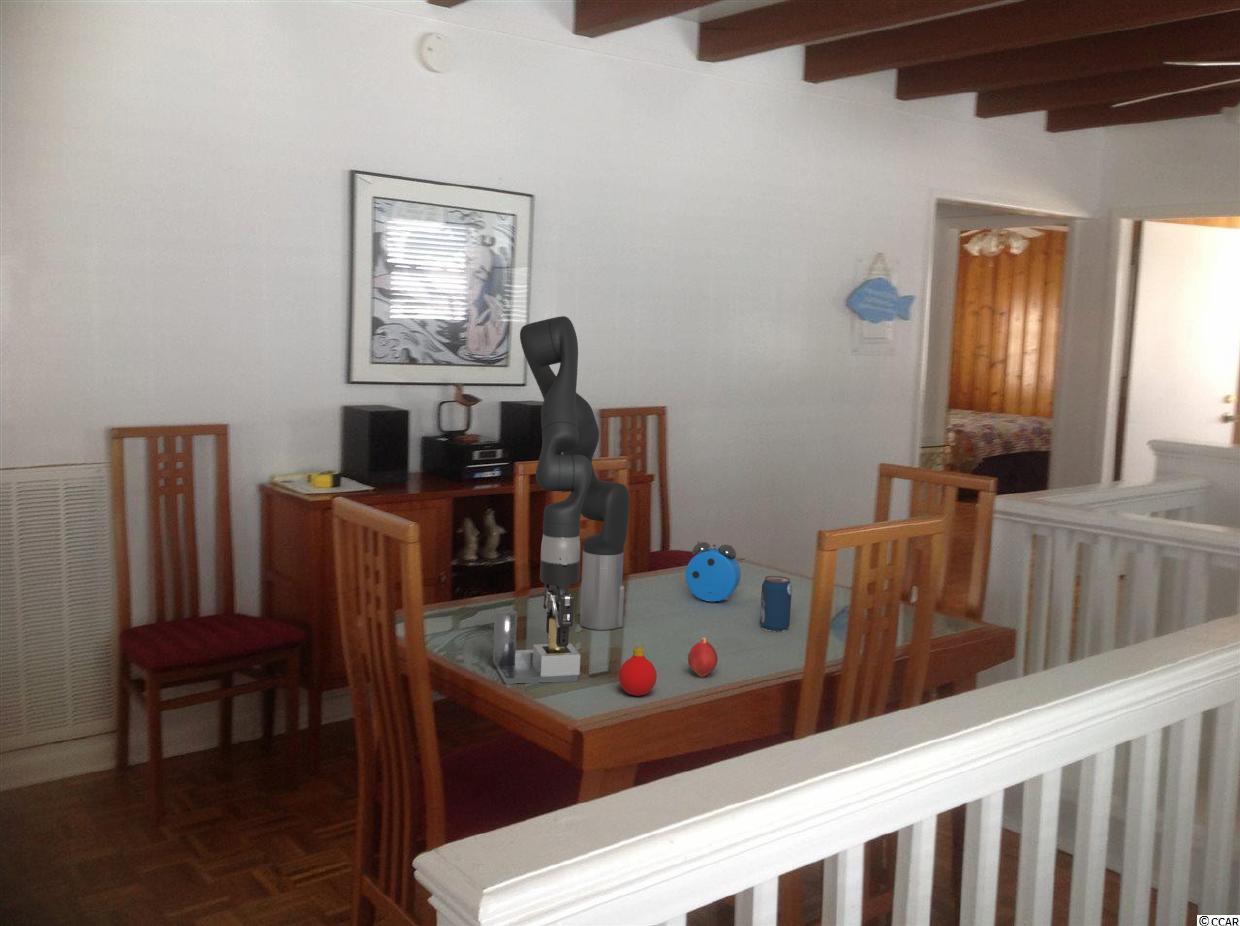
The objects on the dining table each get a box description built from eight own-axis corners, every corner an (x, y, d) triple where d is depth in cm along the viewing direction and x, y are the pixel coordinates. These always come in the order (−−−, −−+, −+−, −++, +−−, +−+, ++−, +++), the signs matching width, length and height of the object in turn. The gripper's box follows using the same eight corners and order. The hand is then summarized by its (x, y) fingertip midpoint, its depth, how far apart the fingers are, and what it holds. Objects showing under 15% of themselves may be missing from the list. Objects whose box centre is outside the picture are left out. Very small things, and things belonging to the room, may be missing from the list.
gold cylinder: (545, 667, 210) (547, 617, 209) (561, 666, 211) (563, 616, 210) (549, 672, 207) (551, 621, 206) (565, 671, 208) (567, 621, 207)
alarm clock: (739, 601, 276) (742, 543, 274) (733, 606, 270) (737, 547, 269) (690, 594, 280) (693, 538, 279) (683, 600, 275) (686, 542, 273)
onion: (685, 671, 216) (687, 633, 215) (713, 672, 216) (715, 633, 215) (689, 681, 210) (691, 641, 209) (718, 681, 211) (720, 642, 210)
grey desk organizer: (564, 661, 218) (566, 607, 217) (579, 681, 207) (582, 624, 206) (490, 665, 214) (492, 610, 213) (502, 684, 203) (504, 626, 201)
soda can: (795, 629, 251) (798, 579, 250) (777, 634, 246) (781, 583, 245) (770, 623, 256) (773, 573, 255) (753, 628, 251) (756, 577, 250)
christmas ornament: (651, 688, 205) (654, 637, 204) (659, 700, 198) (661, 647, 197) (615, 688, 204) (617, 637, 203) (621, 701, 197) (623, 648, 196)
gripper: (533, 550, 212) (530, 630, 214) (549, 566, 199) (546, 651, 201) (570, 550, 215) (566, 629, 217) (588, 565, 201) (585, 650, 203)
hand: (556, 639), depth 209 cm, fingers open, 8 cm apart
